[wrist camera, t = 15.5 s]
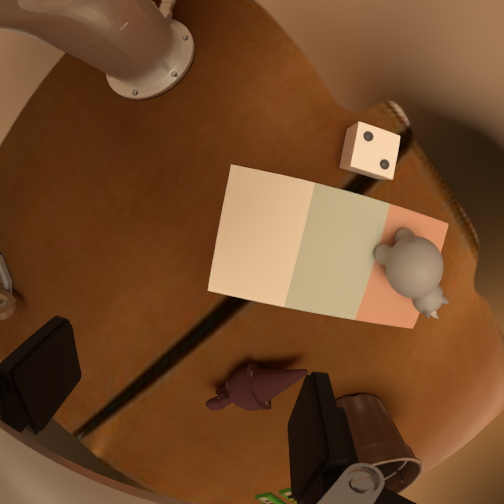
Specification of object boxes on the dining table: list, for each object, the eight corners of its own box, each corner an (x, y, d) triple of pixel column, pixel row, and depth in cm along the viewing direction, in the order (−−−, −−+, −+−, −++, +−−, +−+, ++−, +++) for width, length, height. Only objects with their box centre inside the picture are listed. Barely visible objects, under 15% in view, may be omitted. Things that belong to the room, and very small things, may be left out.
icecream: (293, 358, 32) (190, 388, 36) (315, 406, 31) (214, 429, 35) (299, 338, 39) (209, 368, 42) (318, 381, 38) (229, 406, 42)
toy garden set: (347, 468, 47) (350, 484, 42) (366, 492, 50) (369, 505, 46) (255, 493, 51) (254, 507, 46) (288, 515, 54) (288, 527, 50)
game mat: (231, 164, 33) (231, 164, 33) (447, 223, 33) (448, 223, 33) (208, 289, 37) (207, 290, 37) (412, 328, 37) (412, 328, 37)
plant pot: (355, 450, 44) (370, 513, 29) (286, 433, 43) (288, 508, 28) (410, 395, 40) (444, 460, 25) (340, 371, 39) (366, 453, 24)
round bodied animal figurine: (398, 317, 36) (424, 348, 28) (364, 247, 34) (389, 268, 26) (437, 289, 35) (468, 314, 27) (407, 218, 33) (442, 229, 25)
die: (346, 128, 31) (359, 121, 26) (383, 140, 31) (400, 135, 26) (339, 167, 32) (350, 166, 27) (376, 178, 32) (392, 179, 27)
